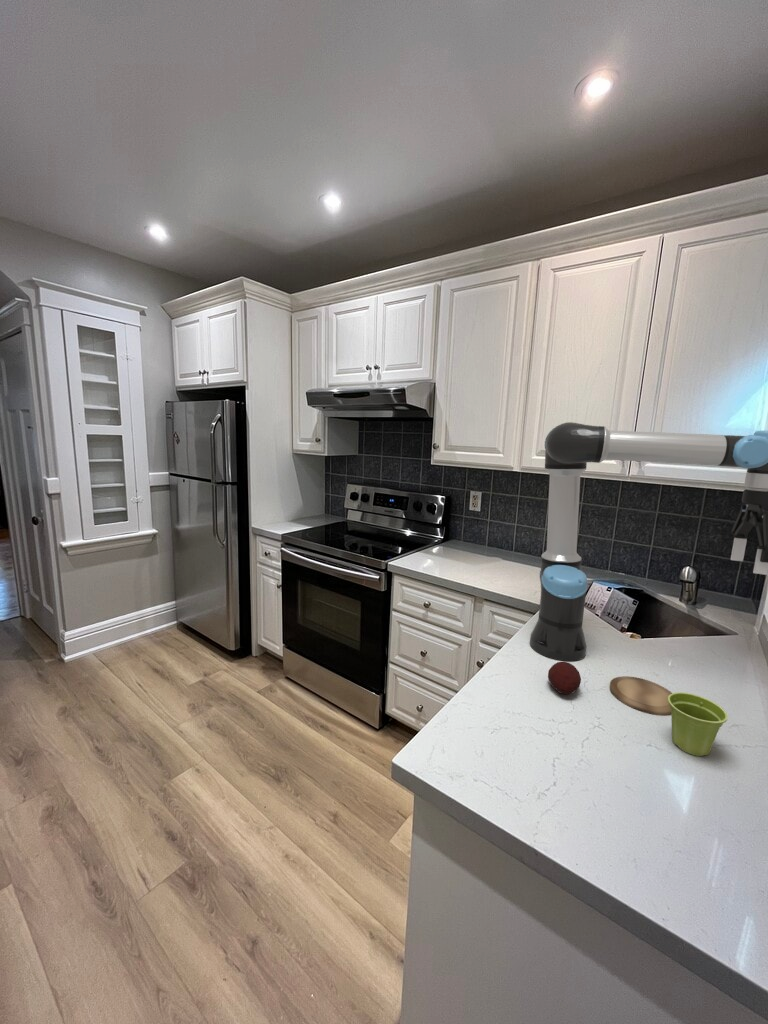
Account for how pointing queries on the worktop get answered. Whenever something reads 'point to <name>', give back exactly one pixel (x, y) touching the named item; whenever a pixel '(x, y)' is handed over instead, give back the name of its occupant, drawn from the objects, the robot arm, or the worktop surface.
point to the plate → (641, 695)
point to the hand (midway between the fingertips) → (747, 566)
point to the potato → (564, 677)
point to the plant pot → (695, 722)
